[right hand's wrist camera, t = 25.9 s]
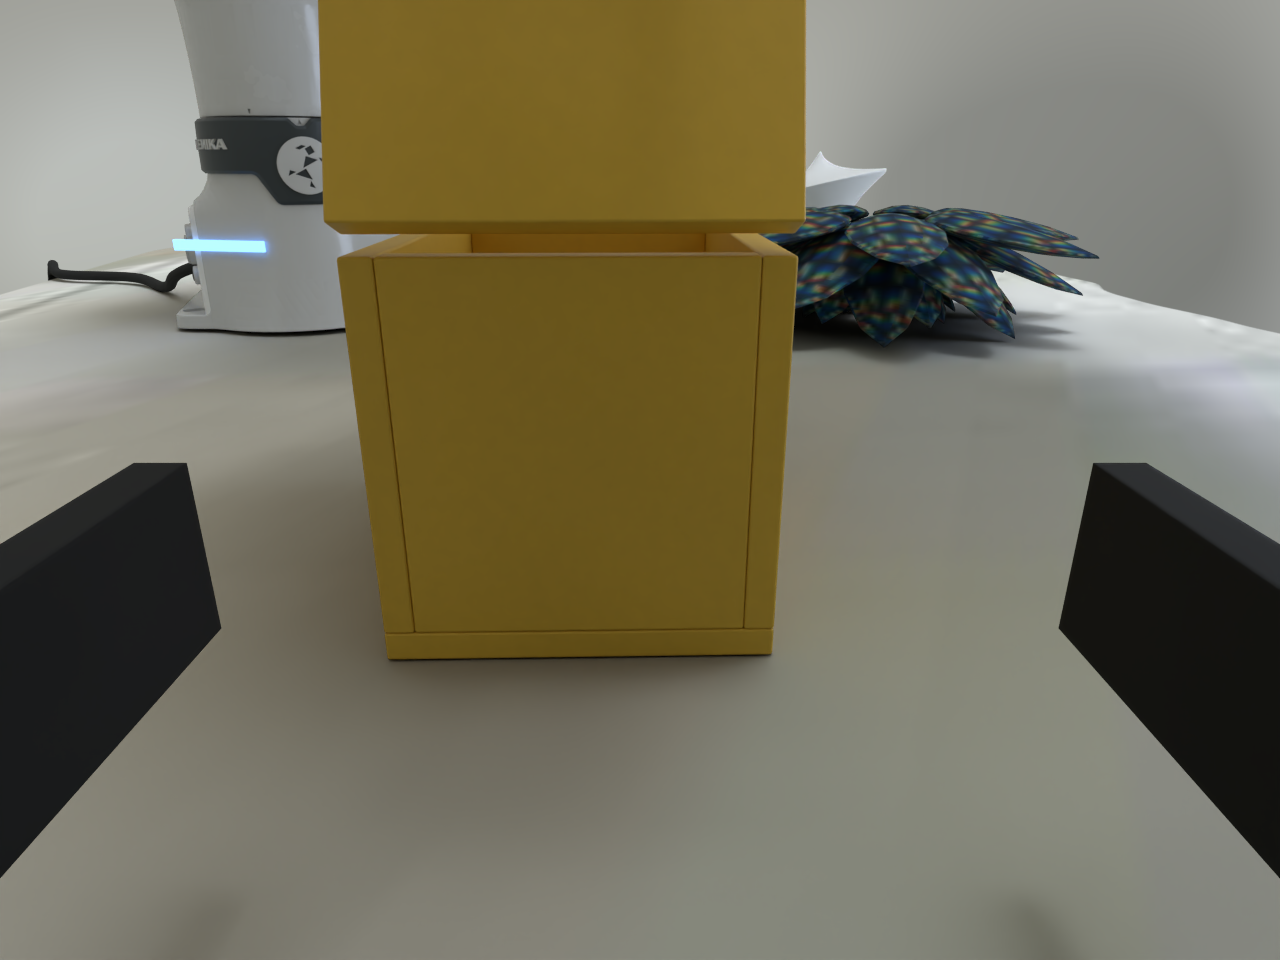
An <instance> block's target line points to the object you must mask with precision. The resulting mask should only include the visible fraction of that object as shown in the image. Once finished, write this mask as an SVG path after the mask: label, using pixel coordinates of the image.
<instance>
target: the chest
mask: <svg viewBox="0 0 1280 960" xmlns="http://www.w3.org/2000/svg"><path fill="white" fill-rule="evenodd" d="M337 267H338V275H339V283H340V290H341V298H342V306H343V314H344V321H345V329H346V337H347V345H348V353H349V360H350V368H351V376H352V384H353V391H354V399H355V407H356V415H357V422H358V430H359V438H360V446H361V453H362V461H363V469H364V477H365V484H366V492H367V500H368V508H369V515H370V523H371V531H372V539H373V546H374V554H375V562H376V570H377V577H378V585H379V593H380V601H381V609H382V616H383V624H384V631H385V641H386V649H387V656H388V659H454V658H527V657H601V656H674V655H747V654H771V653H772V645H773V626H774V615H775V600H776V585H777V570H778V555H779V540H780V525H781V510H782V495H783V480H784V465H785V450H786V435H787V420H788V405H789V390H790V375H791V360H792V345H793V330H794V315H795V301H796V286H797V271H798V256H796V255H795V254H793V253H791V252H789V251H787V250H786V249H784V248H782V247H780V246H779V245H777V244H775V243H773V242H772V241H770V240H768V239H766V238H765V237H763V236H761V235H759V234H758V233H716V234H400V235H397V236H395V237H392V238H389V239H386V240H384V241H381V242H378V243H376V244H373V245H370V246H367V247H365V248H362V249H359V250H357V251H354V252H351V253H348V254H346V255H343V256H340V257H338V258H337Z"/></svg>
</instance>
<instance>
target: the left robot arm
mask: <svg viewBox="0 0 1280 960" xmlns="http://www.w3.org/2000/svg"><path fill="white" fill-rule="evenodd" d="M174 1H175V5H176V8H177V12H178V16H179V20H180V24H181V27H182V31H183V36H184V40H185V44H186V49H187V53H188V57H189V62H190V67H191V71H192V77H193V81H194V87H195V92H196V97H197V103H198V108H199V114H200V119H197V120H196V121H195V129H196V137H197V140H195V141H196V148H197V150H198V151H199V157H200V163H201V169H202V171H204V172H205V173H208V178H207V182H206V185H205V187H204V190H203V191H202V193H201V194H200V195H199V196H198V197H197V198H196V199H195V200H194V203H193V205H192V206H190V207H189V208H188V213H189V220H190V224H185V233H186V235H185V236H184V239H173V245H174V250H186V255H187V259H188V262H189V263H187V264H184V265H182V266H180V267H178V268H176V269H174V270H173V271H171V272H170V273H169V274H168V276H167V278H166V281H165V282H161V281H159V280H157V279H155V278H152V277H150V276H147V275H143V274H138V273H129V272H101V271H69V270H61V269H59V268H58V263H57V262H56V261H54V260H50V261H49V262H48V281H49V280H53V279H56V278H60V279H71V280H105V281H128V282H136V283H141V284H144V285H147V286H149V287H152V288H154V289H156V290H158V291H162V292H169V291H171V290H173V289H174V288H175V287H176V285H177V282H178V281H179V280H180V279H181V278H183V277H185V276H188V275H190V274H193V279H194V281H195V283H196V284H201V289H202V290H200V291H199V292H198V293H197V294H196V295H195V296H194V297H193V298H192V299H191V300H190V301H189V302H188V303H187V304H186V305H185V306H184V307H183V308H182V309H181V310H180V311H179V312H178V313H177V314H176V321H177V328H182V329H224V330H233V331H246V332H297V331H315V330H327V329H338V328H345V321H344V314H343V306H342V298H341V290H340V283H339V275H338V267H337V258H338V257H340V256H343V255H346V254H348V253H351V252H354V251H357V250H359V249H362V248H365V247H367V246H370V245H373V244H376V243H378V242H381V241H384V240H386V239H389V238H392V237H395V236H397V235H400V234H340V233H338V232H337V231H335V230H334V229H333V228H331V227H330V226H329V225H327V224H326V223H325V222H324V219H323V180H322V141H321V102H320V64H319V25H318V0H174Z"/></svg>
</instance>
